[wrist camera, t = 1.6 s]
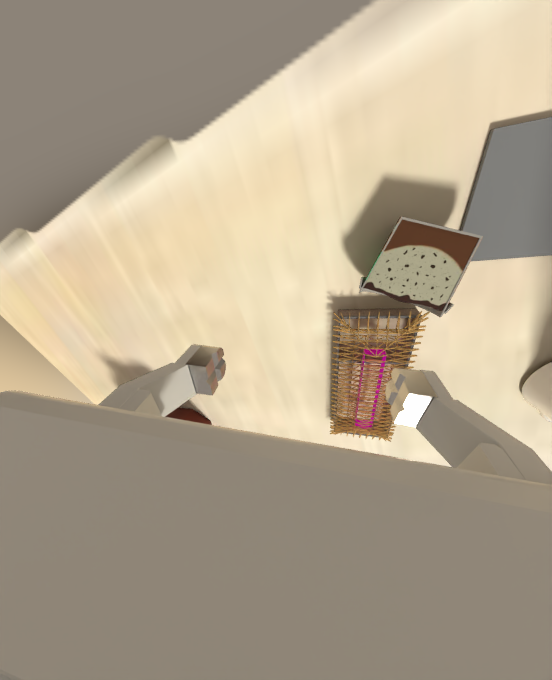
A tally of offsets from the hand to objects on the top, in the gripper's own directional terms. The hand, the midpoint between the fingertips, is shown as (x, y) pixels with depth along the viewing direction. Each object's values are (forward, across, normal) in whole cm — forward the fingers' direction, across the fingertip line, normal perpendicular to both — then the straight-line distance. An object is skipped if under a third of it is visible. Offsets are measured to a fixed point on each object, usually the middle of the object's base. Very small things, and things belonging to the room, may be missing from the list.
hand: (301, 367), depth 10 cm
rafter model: (+29, -13, +25) cm, 41 cm away
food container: (+26, -15, -4) cm, 30 cm away
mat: (+28, -24, -7) cm, 38 cm away
